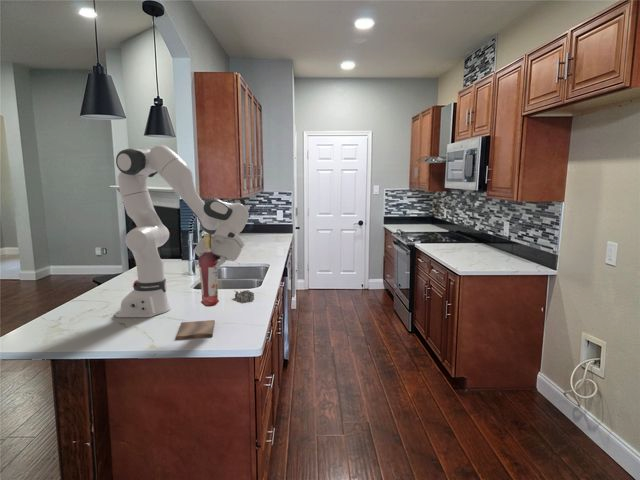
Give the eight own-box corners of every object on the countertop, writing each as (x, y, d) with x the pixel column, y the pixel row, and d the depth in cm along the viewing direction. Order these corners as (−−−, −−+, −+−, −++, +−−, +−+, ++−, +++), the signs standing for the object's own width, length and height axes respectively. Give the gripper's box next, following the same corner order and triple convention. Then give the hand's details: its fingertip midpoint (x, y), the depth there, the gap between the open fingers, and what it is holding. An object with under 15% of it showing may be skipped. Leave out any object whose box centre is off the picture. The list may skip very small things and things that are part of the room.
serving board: (176, 339, 145) (175, 336, 145) (181, 325, 159) (181, 322, 159) (212, 336, 147) (212, 333, 147) (214, 322, 162) (214, 320, 162)
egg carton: (233, 297, 198) (233, 290, 198) (247, 295, 202) (246, 287, 202) (241, 303, 189) (241, 294, 189) (256, 300, 194) (255, 292, 193)
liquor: (214, 308, 149) (211, 235, 145) (196, 307, 151) (193, 234, 147) (222, 302, 156) (220, 233, 152) (206, 301, 158) (203, 232, 154)
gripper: (201, 231, 160) (183, 258, 153) (240, 235, 151) (222, 264, 144) (209, 240, 165) (192, 267, 158) (247, 245, 155) (231, 274, 148)
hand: (207, 266), depth 151 cm, fingers closed on liquor, 7 cm apart
